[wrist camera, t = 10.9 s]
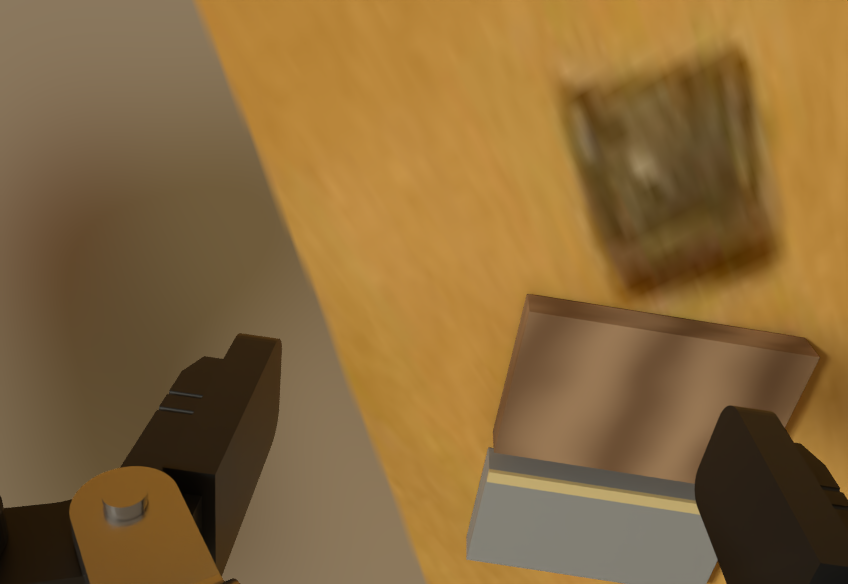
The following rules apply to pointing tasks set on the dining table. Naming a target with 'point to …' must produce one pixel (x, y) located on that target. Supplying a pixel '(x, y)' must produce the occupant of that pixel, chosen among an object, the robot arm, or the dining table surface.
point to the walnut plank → (637, 386)
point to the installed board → (588, 523)
